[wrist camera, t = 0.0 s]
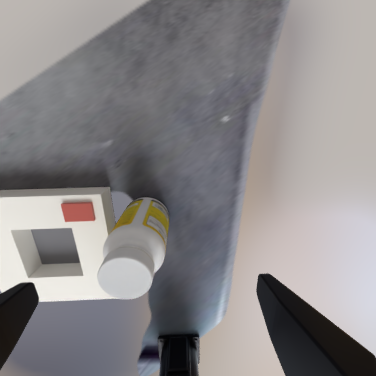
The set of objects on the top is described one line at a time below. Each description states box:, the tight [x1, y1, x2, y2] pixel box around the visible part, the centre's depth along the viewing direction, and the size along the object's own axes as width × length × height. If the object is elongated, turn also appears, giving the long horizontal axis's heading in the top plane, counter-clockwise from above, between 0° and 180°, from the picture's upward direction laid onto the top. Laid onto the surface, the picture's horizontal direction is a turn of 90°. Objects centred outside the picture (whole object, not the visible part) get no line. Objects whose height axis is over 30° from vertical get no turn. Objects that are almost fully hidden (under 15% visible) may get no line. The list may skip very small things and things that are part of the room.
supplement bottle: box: [97, 197, 169, 299], centre depth 18 cm, size 5×5×10 cm
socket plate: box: [0, 187, 116, 302], centre depth 22 cm, size 14×14×3 cm
